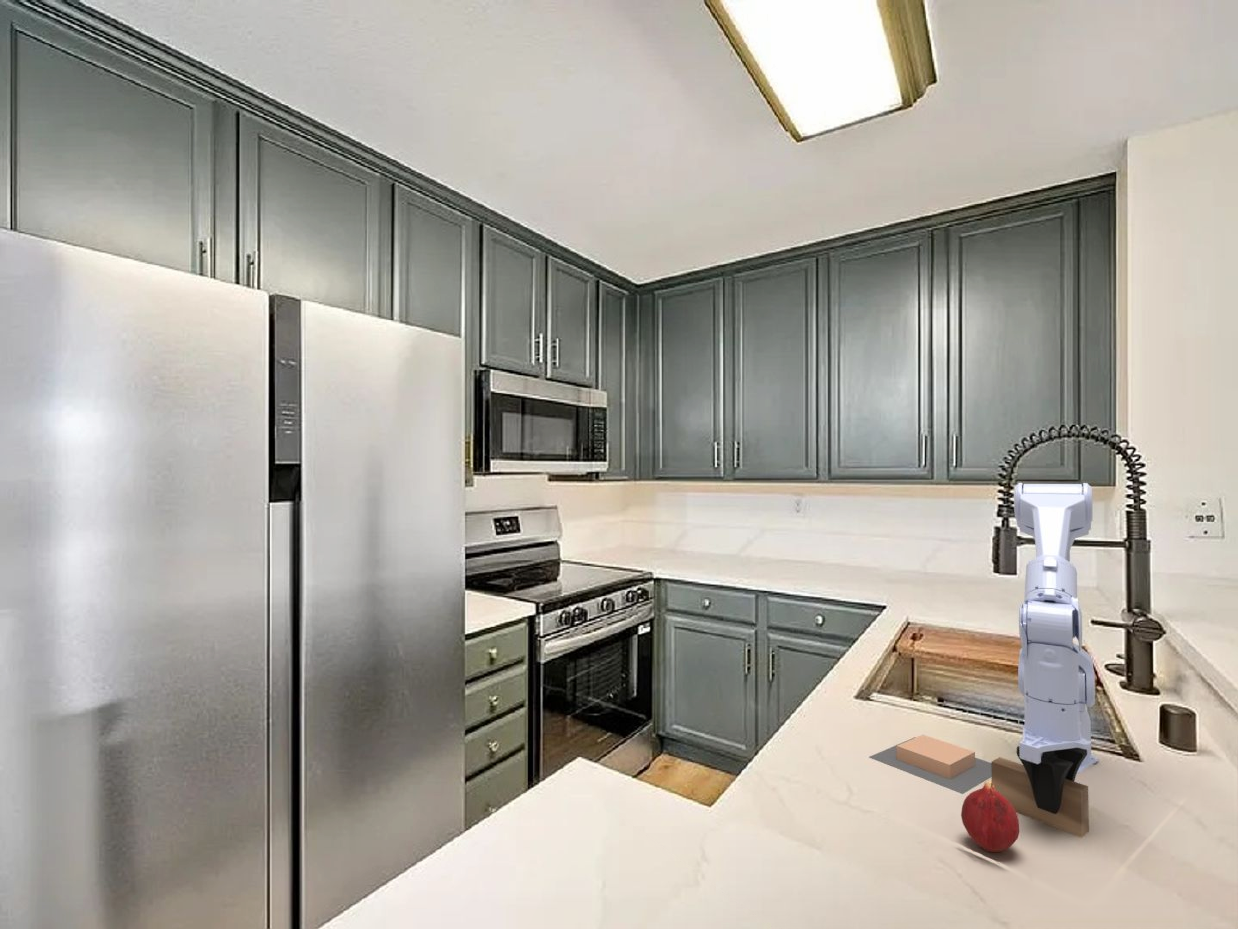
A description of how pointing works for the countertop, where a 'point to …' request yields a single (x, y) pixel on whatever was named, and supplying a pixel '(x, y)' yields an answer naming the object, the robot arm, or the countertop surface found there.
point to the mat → (956, 783)
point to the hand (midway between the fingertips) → (1052, 806)
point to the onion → (990, 819)
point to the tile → (936, 756)
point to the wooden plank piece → (1019, 793)
